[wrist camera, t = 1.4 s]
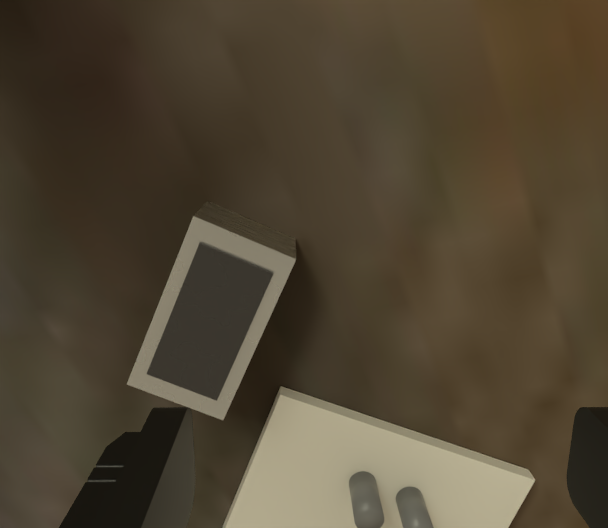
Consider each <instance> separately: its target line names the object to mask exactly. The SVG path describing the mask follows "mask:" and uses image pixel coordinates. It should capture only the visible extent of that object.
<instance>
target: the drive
mask: <svg viewBox="0 0 608 528" xmlns="http://www.w3.org/2000/svg"><path fill="white" fill-rule="evenodd" d="M295 261H296V239H295V238H293V237H291V236H289V235H286V234H284V233H282V232H279V231H277V230H275V229H272V228H270V227H268V226H265V225H263V224H261V223H258V222H256V221H254V220H251V219H249V218H247V217H244V216H242V215H239V214H237V213H235V212H232V211H230V210H228V209H225V208H223V207H221V206H218V205H216V204H214V203H211V202H209V201H207V202H206V203H205V204H204V205H203V206H202V207H201V208H200V209H199V211H198V212H197V213H196V214H195V215H194V216H193V218H192V221H191V223H190V226H189V228H188V231H187V233H186V236H185V239H184V241H183V244H182V246H181V249H180V251H179V254H178V256H177V259H176V261H175V264H174V266H173V269H172V271H171V274H170V276H169V279H168V281H167V284H166V286H165V289H164V291H163V294H162V297H161V299H160V302H159V304H158V307H157V309H156V312H155V314H154V317H153V319H152V322H151V324H150V327H149V329H148V332H147V334H146V337H145V339H144V342H143V344H142V347H141V349H140V352H139V355H138V357H137V360H136V362H135V365H134V367H133V370H132V372H131V375H130V377H129V380H128V382H127V385H130V386H132V387H135V388H138V389H140V390H143V391H146V392H148V393H151V394H154V395H156V396H159V397H162V398H164V399H167V400H170V401H173V402H175V403H178V404H181V405H183V406H186V407H189V408H191V409H194V410H197V411H199V412H202V413H205V414H207V415H210V416H213V417H215V418H218V419H221V420H224V418H225V415H226V413H227V411H228V409H229V407H230V404H231V402H232V400H233V398H234V396H235V393H236V391H237V389H238V387H239V384H240V382H241V380H242V378H243V376H244V373H245V371H246V369H247V367H248V365H249V362H250V360H251V358H252V356H253V354H254V351H255V349H256V347H257V345H258V343H259V340H260V338H261V336H262V334H263V332H264V329H265V327H266V325H267V323H268V321H269V318H270V316H271V314H272V312H273V310H274V307H275V305H276V303H277V301H278V299H279V296H280V294H281V292H282V290H283V288H284V285H285V283H286V281H287V279H288V277H289V274H290V272H291V270H292V268H293V266H294V263H295Z"/></svg>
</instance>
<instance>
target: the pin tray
mask: <svg viewBox="0 0 608 528" xmlns="http://www.w3.org/2000/svg"><path fill="white" fill-rule="evenodd" d="M534 482H535V479H534V477H533V476H532V474H531V473H530V471H529V470H528V469H525V468H522V467H519V466H516V465H513V464H510V463H507V462H504V461H501V460H498V459H495V458H493V457H490V456H487V455H484V454H481V453H478V452H475V451H472V450H469V449H466V448H463V447H460V446H457V445H454V444H451V443H448V442H445V441H442V440H439V439H436V438H433V437H430V436H427V435H424V434H421V433H418V432H415V431H412V430H410V429H407V428H404V427H401V426H398V425H395V424H392V423H389V422H386V421H383V420H380V419H377V418H374V417H371V416H368V415H365V414H362V413H359V412H356V411H353V410H350V409H347V408H344V407H341V406H338V405H335V404H332V403H329V402H327V401H324V400H321V399H318V398H315V397H312V396H309V395H306V394H303V393H300V392H297V391H294V390H291V389H288V388H285V387H282V386H280V389H279V391H278V394H277V396H276V398H275V401H274V403H273V406H272V408H271V411H270V413H269V415H268V418H267V420H266V423H265V425H264V427H263V430H262V432H261V435H260V437H259V440H258V442H257V444H256V447H255V449H254V452H253V454H252V457H251V459H250V461H249V464H248V466H247V469H246V471H245V473H244V476H243V478H242V481H241V483H240V486H239V488H238V490H237V493H236V495H235V498H234V500H233V503H232V505H231V507H230V510H229V512H228V515H227V517H226V520H225V522H224V524H223V527H222V528H508V527H509V525H510V524H511V522H512V520H513V518H514V517H515V515H516V513H517V511H518V510H519V508H520V506H521V504H522V503H523V501H524V499H525V497H526V496H527V494H528V492H529V490H530V489H531V487H532V485H533V483H534Z"/></svg>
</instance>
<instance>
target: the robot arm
mask: <svg viewBox="0 0 608 528" xmlns="http://www.w3.org/2000/svg"><path fill="white" fill-rule="evenodd" d="M567 486H568V491H569V494H570V497H571V500H572V502H573V504H574V506H575V507H576V509H577V510H578V512H579V513H580V514H581V516H582V517H583V519H584V520H585V521H586V523H587V524H588V526H589V527H590V528H608V407H582V408H580V409H579V410H578V411H577V413H576V415H575V419H574V425H573V433H572V440H571V447H570V454H569V461H568V469H567ZM194 492H195V460H194V441H193V423H192V413H191V409H190V408H153V409H152V410H151V412H150V414H149V416H148V418H147V420H146V422H145V424H144V426H143V428H142V430H141V432H125V433H124V434H122V435H121V436H120V437H119V438H117V439H116V440H115V441H113V442H112V443H111V444H110V445H108V446H107V447H106V449H105V450H104V452H103V454H102V455H101V457H100V459H99V460H98V462H97V464H96V468H94V469H93V471H92V472H91V474H90V476H89V477H88V482H86V483H85V484H84V486H83V488H82V489H81V491H80V493H79V494H78V496H77V498H76V500H75V501H74V503H73V505H72V506H71V508H70V510H69V512H68V513H67V515H66V517H65V518H64V520H63V522H62V523H61V525H60V527H59V528H187V524H188V520H189V517H190V513H191V509H192V505H193V500H194Z"/></svg>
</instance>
